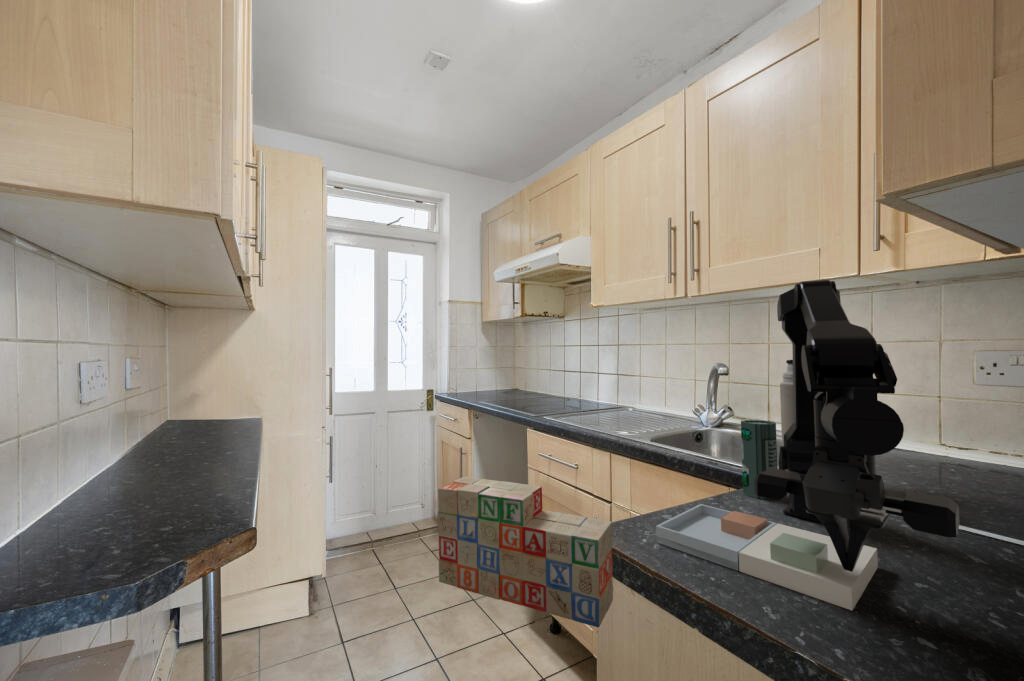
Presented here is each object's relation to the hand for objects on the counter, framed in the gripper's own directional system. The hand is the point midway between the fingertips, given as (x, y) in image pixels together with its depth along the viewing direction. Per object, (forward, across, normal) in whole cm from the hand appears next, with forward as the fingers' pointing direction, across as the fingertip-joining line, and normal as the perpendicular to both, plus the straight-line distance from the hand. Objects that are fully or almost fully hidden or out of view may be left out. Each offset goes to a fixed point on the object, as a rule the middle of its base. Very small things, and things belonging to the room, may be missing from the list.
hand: (848, 569), depth 51 cm
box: (+3, -17, +4) cm, 18 cm away
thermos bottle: (+3, -18, +53) cm, 56 cm away
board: (+3, -5, +4) cm, 7 cm away
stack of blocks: (+3, -27, -28) cm, 39 cm away
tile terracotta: (+2, -15, +8) cm, 17 cm away
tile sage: (0, -5, 0) cm, 5 cm away
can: (+3, -21, +34) cm, 40 cm away
